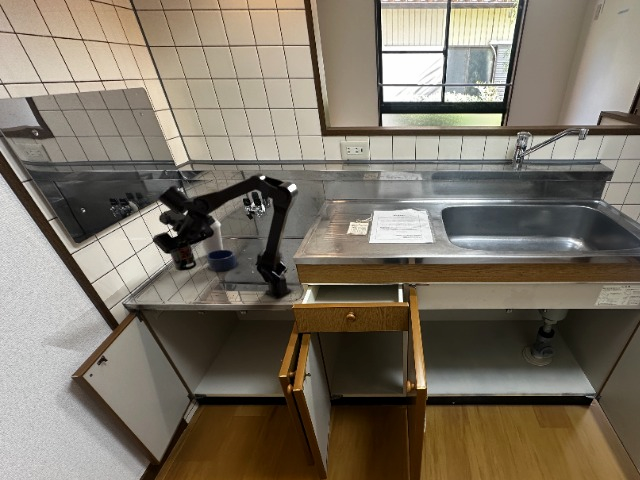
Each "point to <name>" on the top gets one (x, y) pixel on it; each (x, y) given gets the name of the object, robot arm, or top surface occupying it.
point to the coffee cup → (213, 239)
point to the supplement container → (184, 257)
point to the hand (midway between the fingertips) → (177, 249)
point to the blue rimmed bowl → (221, 260)
